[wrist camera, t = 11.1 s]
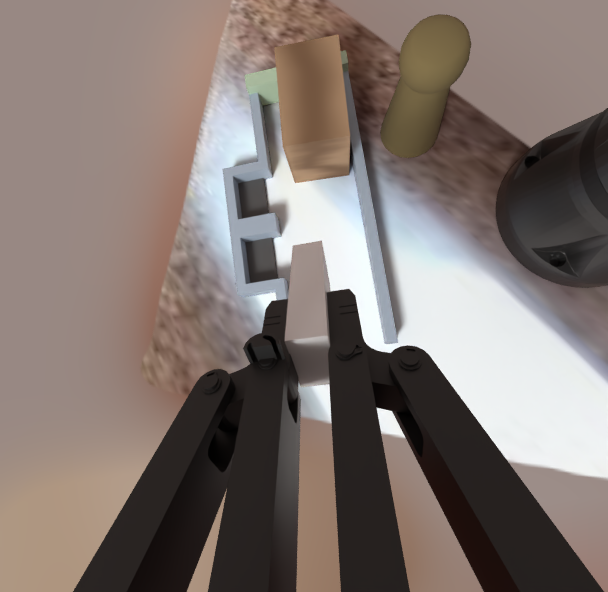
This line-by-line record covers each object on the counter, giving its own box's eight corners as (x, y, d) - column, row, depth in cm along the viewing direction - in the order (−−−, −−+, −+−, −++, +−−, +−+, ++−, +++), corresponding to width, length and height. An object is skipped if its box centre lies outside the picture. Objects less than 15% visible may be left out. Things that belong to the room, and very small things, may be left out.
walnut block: (339, 93, 35) (338, 34, 28) (348, 175, 34) (350, 135, 27) (287, 102, 36) (274, 47, 29) (295, 183, 34) (282, 146, 27)
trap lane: (345, 73, 35) (345, 50, 32) (394, 341, 31) (399, 343, 28) (220, 103, 36) (209, 83, 34) (251, 361, 33) (242, 365, 30)
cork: (380, 107, 34) (398, 2, 23) (438, 104, 33) (483, -7, 22) (379, 158, 33) (397, 75, 22) (438, 156, 32) (485, 69, 22)
